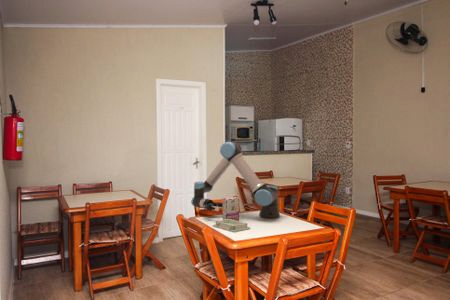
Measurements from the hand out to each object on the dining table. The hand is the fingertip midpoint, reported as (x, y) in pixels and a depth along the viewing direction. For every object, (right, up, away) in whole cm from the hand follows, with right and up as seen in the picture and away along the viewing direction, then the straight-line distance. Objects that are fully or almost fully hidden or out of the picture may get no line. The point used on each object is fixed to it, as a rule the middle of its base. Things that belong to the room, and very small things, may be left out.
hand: (225, 208), depth 243 cm
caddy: (+3, -9, -20) cm, 22 cm away
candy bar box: (+3, -9, -3) cm, 10 cm away
